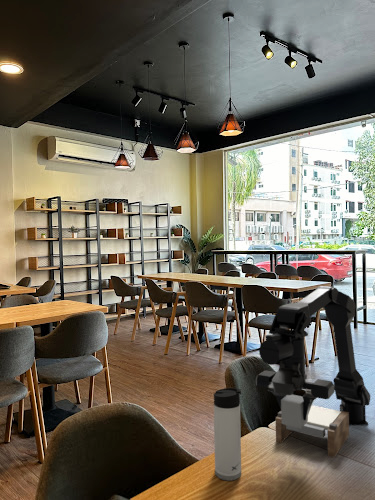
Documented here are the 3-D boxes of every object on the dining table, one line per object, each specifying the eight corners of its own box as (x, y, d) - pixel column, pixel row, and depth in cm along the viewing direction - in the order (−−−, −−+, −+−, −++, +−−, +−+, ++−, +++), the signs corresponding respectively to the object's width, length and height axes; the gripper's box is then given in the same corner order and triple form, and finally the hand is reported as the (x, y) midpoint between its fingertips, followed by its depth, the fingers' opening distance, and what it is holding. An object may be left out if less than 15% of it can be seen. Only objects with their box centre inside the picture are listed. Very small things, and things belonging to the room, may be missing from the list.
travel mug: (241, 482, 92) (240, 395, 92) (213, 479, 93) (211, 393, 93) (243, 468, 98) (242, 386, 98) (216, 465, 99) (215, 384, 99)
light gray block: (289, 416, 105) (288, 393, 105) (307, 421, 102) (307, 397, 102) (281, 423, 101) (280, 400, 101) (301, 428, 98) (300, 404, 98)
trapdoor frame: (295, 422, 123) (295, 398, 123) (349, 435, 114) (348, 409, 114) (275, 441, 111) (275, 415, 111) (334, 457, 102) (333, 428, 102)
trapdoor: (300, 411, 122) (300, 402, 122) (341, 420, 115) (341, 411, 115) (282, 428, 110) (282, 418, 110) (327, 439, 103) (326, 429, 103)
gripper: (245, 358, 100) (246, 420, 100) (320, 370, 89) (322, 439, 89) (264, 348, 109) (265, 405, 109) (334, 358, 98) (336, 421, 98)
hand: (294, 417), depth 101 cm, fingers closed on light gray block, 5 cm apart
